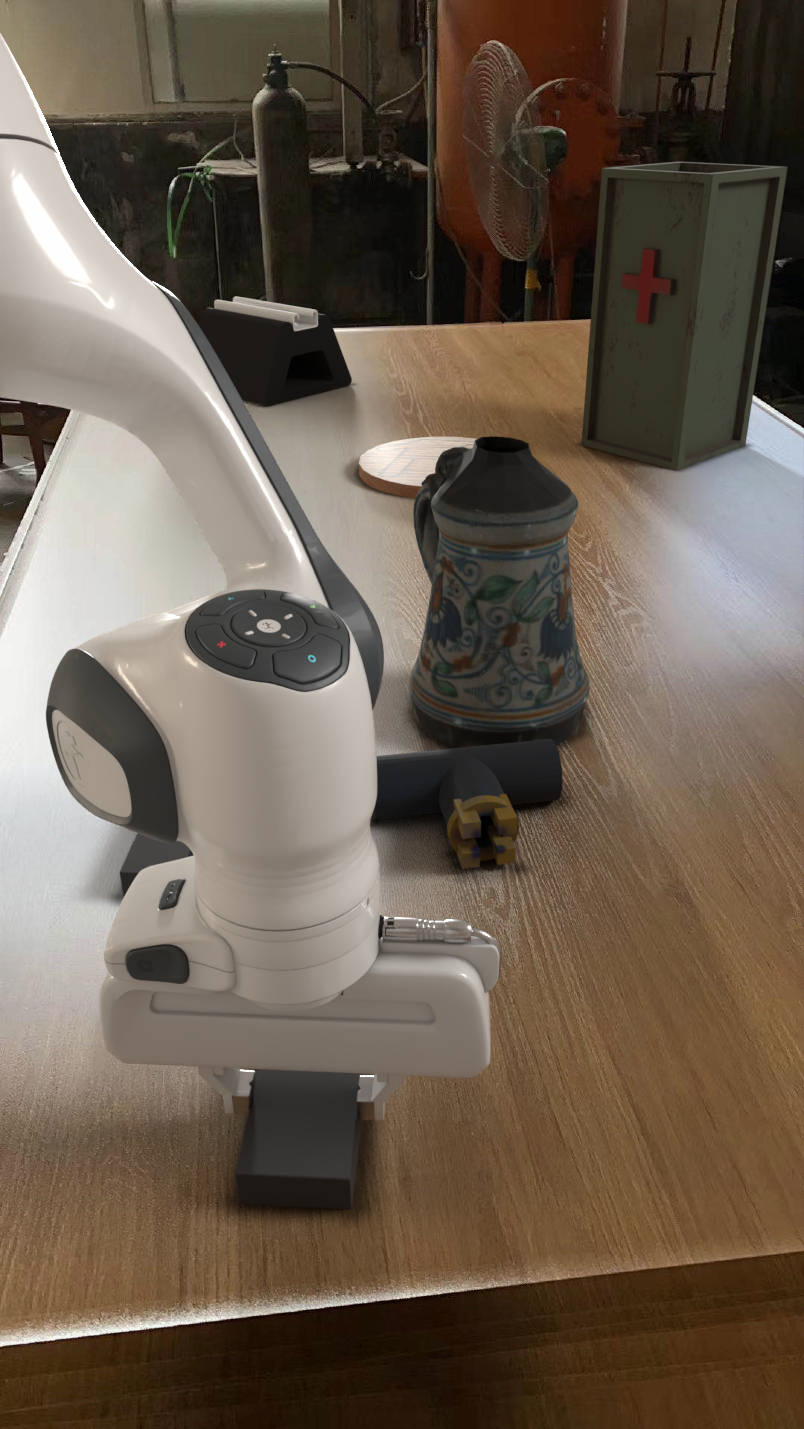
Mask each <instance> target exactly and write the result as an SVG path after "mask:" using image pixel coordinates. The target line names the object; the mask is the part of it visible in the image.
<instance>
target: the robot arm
mask: <svg viewBox="0 0 804 1429" xmlns="http://www.w3.org/2000/svg"><path fill="white" fill-rule="evenodd" d="M5 40H6V39H5V38H4V37H3V35H2V33H0V398H2V399H8V400H14V401H15V400H16V401H23V402H28V403H35V404H42V405H48V406H53V407H56V408H64V409H67V410H71V411H75V412H79V413H82V414H84V415H85V414H86V415H89V416H91V417H95V418H98V419H101V420H103V421H105V422H108V423H110V424H113V425H115V426H117V427H119V428H121V429H123V430H125V431H126V432H128V433H129V434H131V435H132V436H134V437H135V438H137V439H138V440H139V441H140V442H141V443H142V444H143V445H145V446H146V447H147V448H148V449H149V451H151V453H152V454H153V455H154V456H155V457H156V458H157V460H158V461H159V463H160V465H161V467H163V470H164V471H165V473H166V475H167V477H168V478H169V480H170V481H171V483H172V485H173V486H174V488H175V489H176V492H177V494H178V495H179V497H180V499H181V501H182V502H183V504H184V506H185V507H186V509H187V511H188V513H189V514H190V516H191V518H192V519H193V521H194V523H195V525H196V526H197V528H198V530H199V531H200V533H201V535H202V537H203V538H204V540H205V542H206V543H207V545H208V547H209V549H210V550H211V552H212V554H213V555H214V557H215V559H216V561H217V563H218V564H219V566H220V568H221V569H222V572H223V574H224V576H225V585H226V586H225V589H222V590H220V591H217V592H214V593H212V594H209V595H207V596H203V597H201V598H199V599H195V600H193V601H191V602H188V603H185V604H182V605H180V606H177V607H175V608H172V609H169V610H166V611H163V612H160V613H154V614H151V615H148V616H145V617H143V618H140V619H137V620H135V621H132V622H130V623H127V624H124V625H121V626H119V627H117V628H113V629H112V630H109V631H106V632H104V633H102V634H101V633H100V634H98V635H96V636H95V637H92V638H90V639H87V640H86V641H84V642H83V643H81V644H79V645H77V646H76V647H74V648H71V649H69V650H67V651H66V652H65V653H64V655H63V656H62V658H61V659H60V662H59V663H58V665H57V667H56V669H55V671H54V673H53V676H52V679H51V682H50V687H49V691H48V695H47V701H46V707H45V708H46V709H45V722H46V723H45V724H46V729H47V734H48V739H49V744H50V747H51V751H52V754H53V758H54V761H55V764H56V766H57V770H58V772H59V774H60V777H61V779H62V781H63V784H64V785H65V787H66V788H67V790H68V792H69V793H70V795H71V796H72V797H73V799H74V800H75V801H76V802H77V803H78V804H79V805H81V806H82V807H83V808H84V809H85V810H87V811H88V812H89V813H91V814H92V815H94V816H96V817H97V818H99V819H101V820H104V821H106V822H109V823H111V824H114V825H116V826H119V827H121V828H124V829H126V830H129V831H130V832H133V833H135V834H137V833H138V834H141V835H143V836H146V837H149V838H151V839H154V840H157V841H161V842H165V843H170V844H172V843H175V842H176V841H180V842H183V843H184V844H186V845H187V846H188V847H189V849H190V850H191V851H192V853H193V855H194V856H190V857H187V858H183V859H179V860H174V861H170V862H166V863H162V864H157V865H153V866H150V867H147V868H145V869H143V870H141V871H140V872H139V873H138V875H137V876H136V878H135V879H134V881H133V882H132V884H131V886H130V887H129V889H128V891H127V893H126V895H125V896H123V898H122V900H121V902H120V905H119V907H118V909H117V911H116V913H115V916H114V918H113V922H112V924H111V927H110V930H109V932H108V937H107V940H106V944H105V948H104V951H103V959H104V961H103V962H104V964H105V968H106V970H107V972H106V974H105V977H104V979H103V981H102V985H101V987H100V992H99V1020H100V1029H101V1036H102V1040H103V1046H104V1047H105V1050H106V1051H107V1052H108V1053H110V1054H111V1055H112V1056H114V1058H116V1059H117V1060H119V1061H120V1062H121V1063H124V1064H126V1065H127V1064H129V1065H151V1066H152V1065H154V1066H156V1065H157V1066H174V1067H175V1066H176V1067H197V1070H198V1075H199V1076H200V1077H201V1078H202V1079H203V1080H204V1081H205V1082H206V1083H207V1084H208V1085H209V1086H211V1088H212V1089H214V1091H216V1092H217V1093H218V1094H219V1095H220V1096H222V1100H223V1107H224V1113H225V1114H226V1115H248V1112H249V1108H250V1103H251V1099H252V1094H253V1090H254V1086H255V1081H256V1071H255V1070H258V1069H267V1070H290V1071H313V1072H336V1073H359V1074H367V1076H361V1075H360V1077H359V1091H358V1093H357V1110H358V1119H361V1120H362V1121H379V1122H384V1121H385V1114H386V1102H387V1101H388V1100H389V1099H390V1098H391V1097H392V1096H393V1095H394V1094H395V1093H396V1091H398V1090H399V1088H400V1087H402V1085H403V1084H404V1077H405V1076H407V1077H408V1076H409V1077H410V1076H411V1077H427V1078H428V1077H430V1078H431V1077H433V1078H455V1079H473V1078H475V1077H477V1076H478V1075H479V1074H480V1073H482V1072H483V1071H484V1070H485V1069H486V1068H487V1067H489V1065H490V1064H491V1044H492V1043H491V1041H492V1040H491V1009H490V994H489V992H490V991H491V990H492V989H493V988H495V986H496V984H497V982H498V981H499V979H500V976H501V970H502V969H501V967H502V950H501V949H502V948H501V946H500V944H499V941H498V940H497V939H496V937H494V936H493V935H492V934H490V933H488V932H487V931H485V930H483V929H480V928H476V927H472V925H473V924H472V922H471V921H468V920H465V919H459V918H449V919H447V918H446V919H444V920H435V919H434V920H433V919H431V920H429V919H425V918H418V917H404V916H403V917H401V916H383V914H381V886H380V884H381V882H380V881H381V880H380V857H379V852H378V848H377V845H376V842H375V840H374V838H373V835H372V832H371V821H372V820H371V819H372V813H373V810H374V808H375V804H376V799H377V757H376V756H377V742H376V741H377V740H376V729H375V719H374V718H375V717H374V709H375V707H376V703H377V700H378V697H379V695H380V690H381V685H382V681H383V676H384V665H385V651H384V650H385V648H384V642H383V637H382V633H381V630H380V627H379V624H378V621H377V620H376V618H375V616H374V614H373V612H372V610H371V608H370V607H369V605H368V603H367V602H366V600H365V599H364V597H363V596H362V594H361V593H360V592H359V590H358V589H357V588H356V586H355V585H354V584H353V582H352V581H351V580H350V579H349V578H348V576H347V575H346V574H345V573H344V571H343V570H342V569H341V567H340V566H339V565H338V563H336V561H335V560H334V559H333V558H332V556H331V554H330V553H329V551H328V550H327V549H326V547H325V546H324V544H323V543H322V541H321V540H320V538H319V536H318V534H317V533H316V531H315V529H314V527H313V526H312V523H311V522H310V520H309V519H308V516H307V514H306V513H305V511H304V510H303V507H302V505H301V504H300V503H299V500H298V498H297V496H296V495H295V493H294V491H293V490H292V488H291V486H290V484H289V482H288V480H287V479H286V476H285V475H284V473H283V471H282V470H281V468H280V466H279V463H277V461H276V459H275V457H274V455H273V453H272V451H271V448H269V446H268V444H267V441H266V440H265V439H264V436H263V434H262V433H261V432H260V430H259V428H258V426H257V424H256V423H255V420H254V419H253V416H252V415H251V413H250V411H249V410H248V408H247V406H246V404H245V402H244V400H242V399H241V397H240V395H239V393H238V392H237V390H236V388H235V386H234V384H233V383H232V381H231V379H230V377H229V376H228V374H227V372H226V370H225V369H224V367H223V365H222V363H221V362H220V360H219V358H218V356H217V355H216V353H215V351H214V350H213V348H212V346H211V345H210V343H209V341H208V340H207V338H206V337H205V335H204V333H203V332H202V330H201V329H200V325H199V324H198V323H197V321H196V320H195V318H194V317H193V315H192V314H191V312H190V311H189V310H188V309H187V308H186V306H185V305H184V303H182V302H181V300H180V299H179V298H178V297H177V296H176V295H175V294H174V293H173V292H171V291H170V290H169V289H167V288H165V287H164V286H162V285H160V284H158V283H156V282H155V281H153V280H151V279H149V278H147V277H146V276H145V275H144V274H143V273H142V272H141V271H140V270H139V269H137V267H135V266H134V265H133V264H132V263H131V262H130V261H129V260H128V259H127V258H126V257H125V255H124V254H123V253H122V252H121V251H120V249H119V248H117V246H116V245H115V244H114V243H113V242H112V240H111V239H110V238H109V236H108V235H107V234H106V233H105V231H104V229H102V227H101V226H100V225H99V224H98V222H97V221H96V219H95V218H94V216H93V215H92V214H91V212H90V210H89V209H88V207H87V206H86V204H85V203H84V202H83V200H82V198H81V196H80V194H79V193H78V191H77V189H76V188H75V185H74V183H73V181H72V180H71V178H70V175H69V173H68V170H67V169H66V166H65V164H64V162H63V159H62V157H61V154H60V151H59V150H58V147H57V145H56V143H55V140H54V137H53V136H52V133H51V131H50V128H49V126H48V124H47V122H46V119H45V117H44V115H43V113H42V111H41V109H40V107H39V104H38V102H37V100H36V98H35V96H34V94H33V91H32V89H31V88H30V86H29V84H28V82H27V79H26V77H25V76H24V74H23V72H22V70H21V68H20V66H19V65H18V64H19V63H17V61H16V58H15V57H14V55H13V52H12V51H11V49H10V47H9V46H8V44H7V42H6V41H5Z"/></svg>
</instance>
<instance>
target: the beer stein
mask: <svg viewBox="0 0 804 1429" xmlns="http://www.w3.org/2000/svg"><path fill="white" fill-rule="evenodd" d="M476 439H477V440H475V442H474V445H473V448H471V449H470V448H465V447H454V448H451V449H448V450H446V451H443V452H442V454H441V455H440V457H439V458H438V460H437V463H436V467H435V473H433V474H430V475H428V476H427V477H426V479H425V480H424V481H423V482H422V483H421V484H422V487H421V488H420V490H419V492H418V494H417V496H416V498H414V503H413V511H412V521H413V530H414V535H415V540H416V544H417V547H418V552H419V554H420V558H421V561H422V564H423V567H424V570H425V572H426V574H427V577H428V579H429V582H430V585H431V587H430V594H429V599H428V606H427V611H426V617H425V623H424V629H423V633H422V638H421V643H420V647H419V651H418V654H417V657H416V660H415V662H414V664H413V666H412V668H411V671H410V674H409V678H408V679H409V681H408V690H409V696H410V700H411V703H412V706H413V715H414V717H415V719H416V721H417V723H418V725H419V727H420V729H421V730H423V731H424V732H425V733H426V734H427V735H428V736H429V737H431V738H433V739H435V740H436V741H439V743H442V744H443V745H445V746H448V748H449V747H450V748H451V749H453V748H463V747H474V746H484V745H494V744H504V743H515V742H525V741H535V740H545V739H552V740H553V741H554V742H555V744H556V746H558V745H560V744H561V743H564V742H565V741H567V740H568V739H571V738H572V737H574V736H576V735H578V731H579V729H580V724H581V721H582V717H583V714H584V710H585V706H586V703H587V701H588V698H589V695H590V679H589V675H588V672H587V671H586V669H585V667H584V663H583V661H582V658H581V654H580V649H579V645H578V636H577V630H576V622H575V611H574V601H573V589H572V575H571V562H570V551H569V550H570V549H569V531H570V529H571V527H572V526H573V525H574V523H575V521H576V516H577V512H578V509H579V499H578V498H577V495H576V494H575V493H574V492H573V490H572V489H571V487H570V486H569V485H568V484H567V483H566V482H564V481H563V479H561V477H559V476H558V475H557V474H555V473H553V472H552V471H551V470H550V469H549V468H547V467H546V466H545V465H544V464H542V463H541V462H540V461H539V460H538V459H537V458H536V457H535V456H534V455H533V454H532V453H533V452H532V450H531V446H530V443H529V442H527V441H525V440H522V439H518V438H514V437H509V436H495V435H491V436H481V437H479V438H476Z"/></svg>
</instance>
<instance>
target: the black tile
mask: <svg viewBox="0 0 804 1429" xmlns="http://www.w3.org/2000/svg"><path fill="white" fill-rule="evenodd" d="M360 1075H361V1076H368V1074H359V1073H336V1072H313V1071H290V1070H267V1069H257V1071H256V1075H255V1078H256V1080H255V1086H254V1090H253V1094H252V1099H251V1103H250V1108H249V1112H248V1114H247V1117H246V1121H245V1126H244V1130H243V1135H242V1140H241V1143H240V1148H239V1152H238V1157H237V1161H236V1166H235V1169H234V1170H235V1171H234V1179H235V1180H234V1181H235V1186H236V1194H237V1201H238V1204H239V1205H252V1206H253V1205H255V1206H273V1207H295V1208H296V1207H297V1208H313V1209H315V1208H316V1209H317V1208H319V1209H334V1210H335V1209H336V1210H352V1209H353V1203H354V1201H353V1200H354V1194H355V1193H354V1192H355V1184H356V1176H357V1167H358V1159H359V1150H360V1140H361V1133H362V1132H361V1131H362V1122H363V1120H361V1119H358V1110H357V1093H358V1091H359V1077H360Z"/></svg>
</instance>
